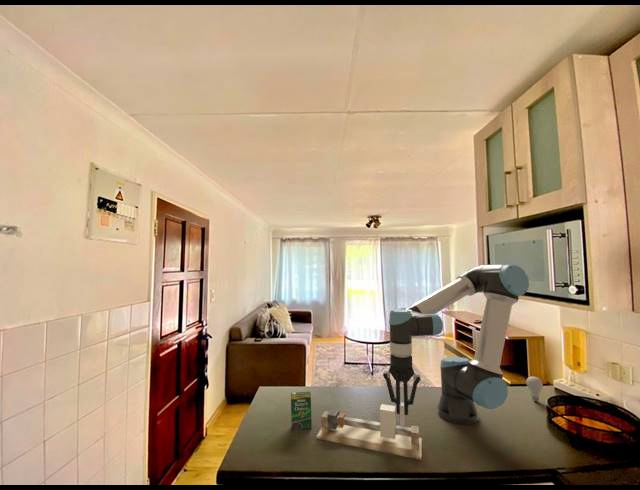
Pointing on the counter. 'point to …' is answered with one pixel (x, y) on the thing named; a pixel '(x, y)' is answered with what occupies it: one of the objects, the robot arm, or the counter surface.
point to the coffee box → (301, 410)
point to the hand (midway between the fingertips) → (402, 423)
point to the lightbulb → (534, 387)
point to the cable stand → (369, 435)
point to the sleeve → (387, 421)
